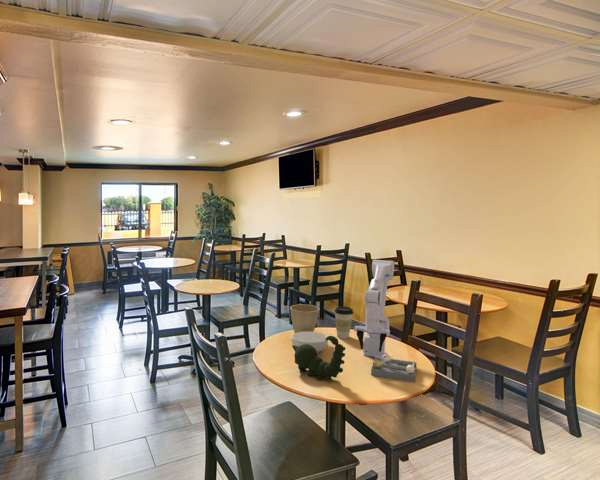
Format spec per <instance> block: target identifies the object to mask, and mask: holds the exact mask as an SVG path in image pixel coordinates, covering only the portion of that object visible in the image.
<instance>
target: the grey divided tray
mask: <svg viewBox="0 0 600 480" xmlns="http://www.w3.org/2000/svg"><path fill="white" fill-rule="evenodd" d="M381 358H382V357H377V356H375V357H374V361H373V362H372V366H371V368H370V375H371V376H374V377H381V378H386V379H392V380H398V381H405V382H412V383H415V382H416V373H417V361H410V360H403V359H402V360H401V359H394V358H391V362H390V363H389V364H385V363H383V362H382V360H381ZM376 360H380V361H381V362H382V367H381V368H376V367H375V365H374V363H375V361H376ZM408 365H412V366H413V367H414V372H413V373H408V372H407V371H406V367H407V366H408Z"/></svg>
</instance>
